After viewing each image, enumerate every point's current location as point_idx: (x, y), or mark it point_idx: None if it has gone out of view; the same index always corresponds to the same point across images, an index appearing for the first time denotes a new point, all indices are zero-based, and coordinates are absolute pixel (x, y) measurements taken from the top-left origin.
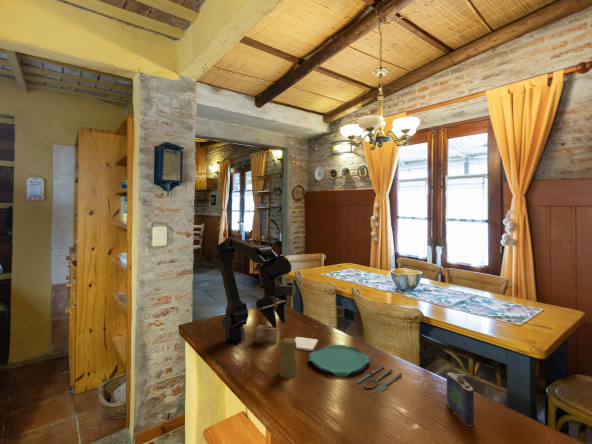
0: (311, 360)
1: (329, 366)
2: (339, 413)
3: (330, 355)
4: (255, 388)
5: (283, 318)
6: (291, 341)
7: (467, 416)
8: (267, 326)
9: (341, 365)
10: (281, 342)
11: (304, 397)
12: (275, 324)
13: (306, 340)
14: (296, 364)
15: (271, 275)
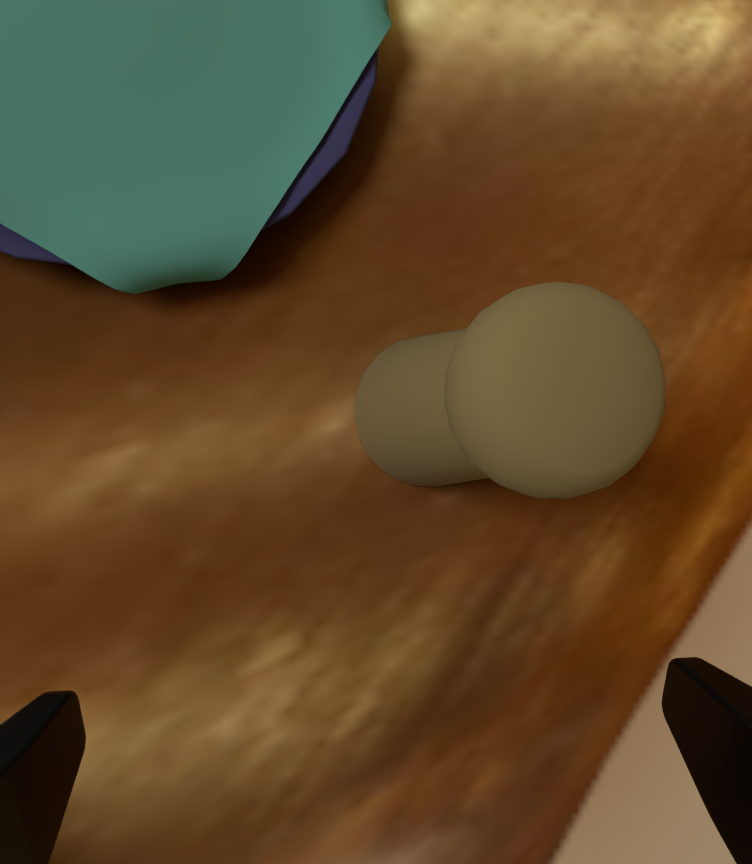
0: (250, 235)
1: (260, 71)
2: (732, 3)
3: (24, 70)
4: (669, 561)
5: (31, 780)
6: (620, 329)
7: None
8: None
9: None
10: (621, 475)
11: (663, 222)
12: (745, 694)
13: None
14: (444, 332)
15: None
